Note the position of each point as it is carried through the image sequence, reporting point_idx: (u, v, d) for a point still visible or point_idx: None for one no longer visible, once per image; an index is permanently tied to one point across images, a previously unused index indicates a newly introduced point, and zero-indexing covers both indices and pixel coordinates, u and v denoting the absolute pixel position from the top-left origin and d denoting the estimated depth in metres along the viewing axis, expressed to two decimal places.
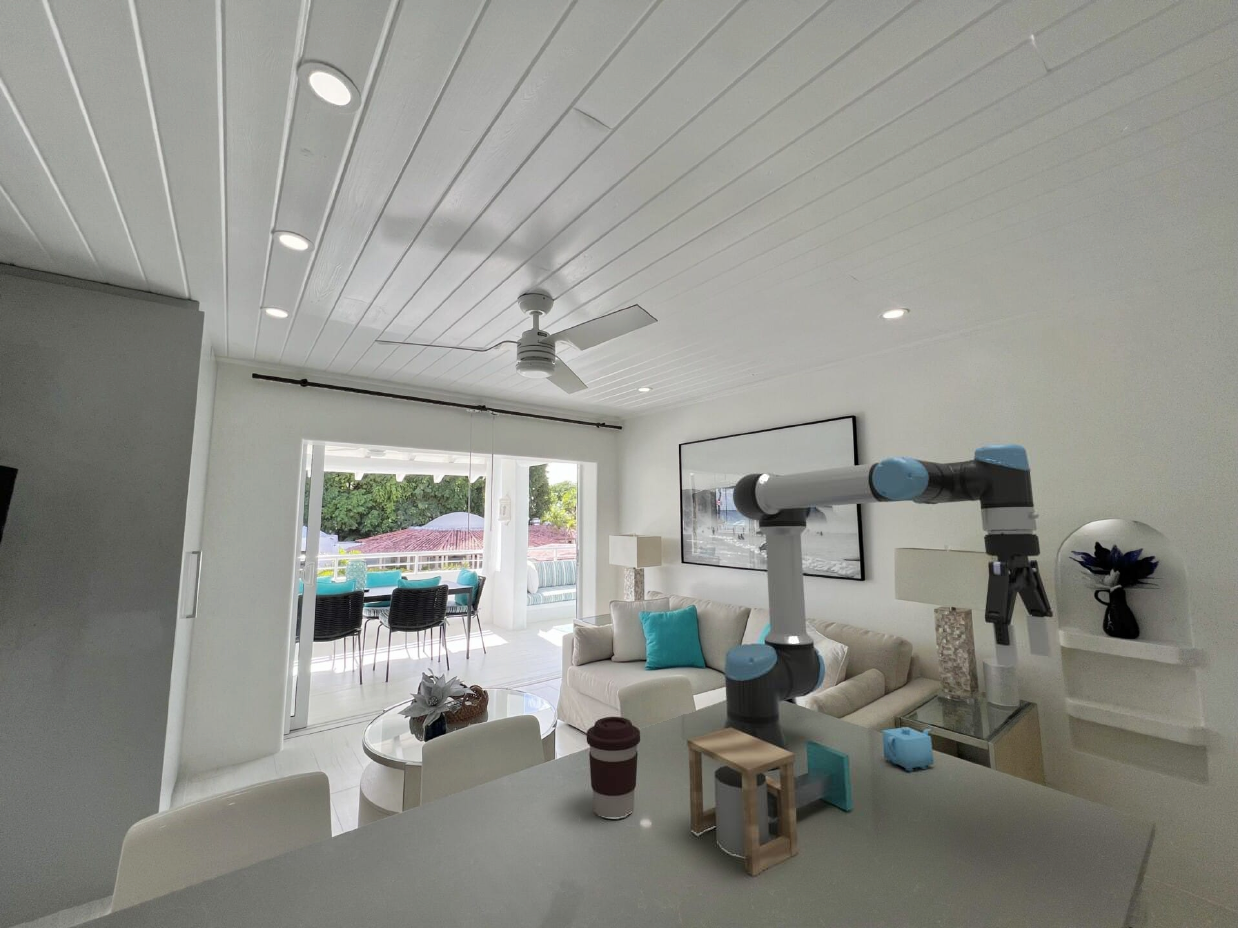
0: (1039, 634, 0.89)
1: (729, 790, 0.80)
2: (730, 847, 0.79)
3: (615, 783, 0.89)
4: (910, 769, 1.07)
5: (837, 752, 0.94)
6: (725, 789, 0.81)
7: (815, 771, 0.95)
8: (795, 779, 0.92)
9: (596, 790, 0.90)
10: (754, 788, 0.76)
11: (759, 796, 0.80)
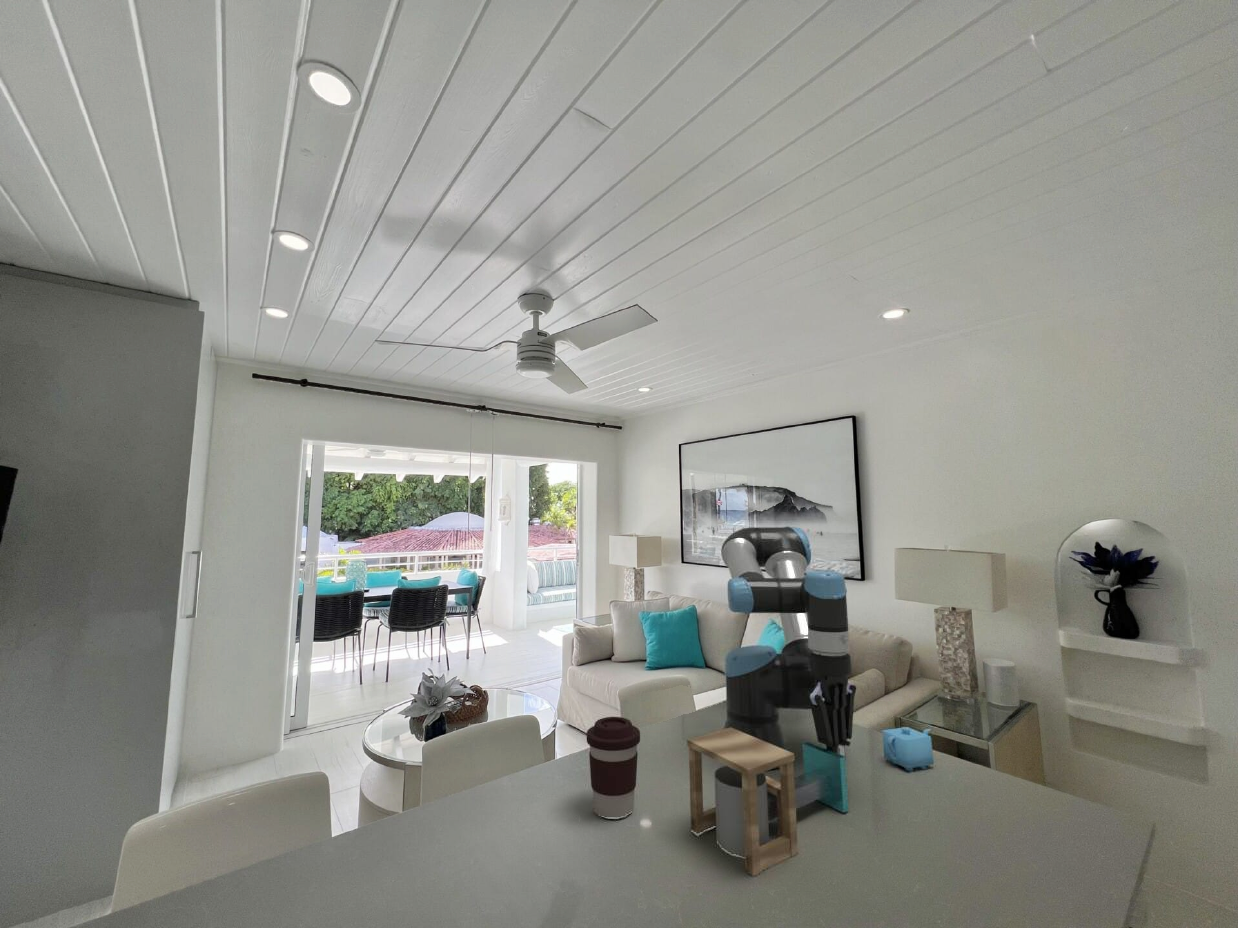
0: None
1: (729, 790, 0.80)
2: (730, 847, 0.79)
3: (615, 783, 0.89)
4: (910, 769, 1.07)
5: (833, 753, 0.93)
6: (726, 789, 0.81)
7: (811, 772, 0.94)
8: None
9: (596, 790, 0.90)
10: (754, 788, 0.76)
11: (759, 796, 0.80)
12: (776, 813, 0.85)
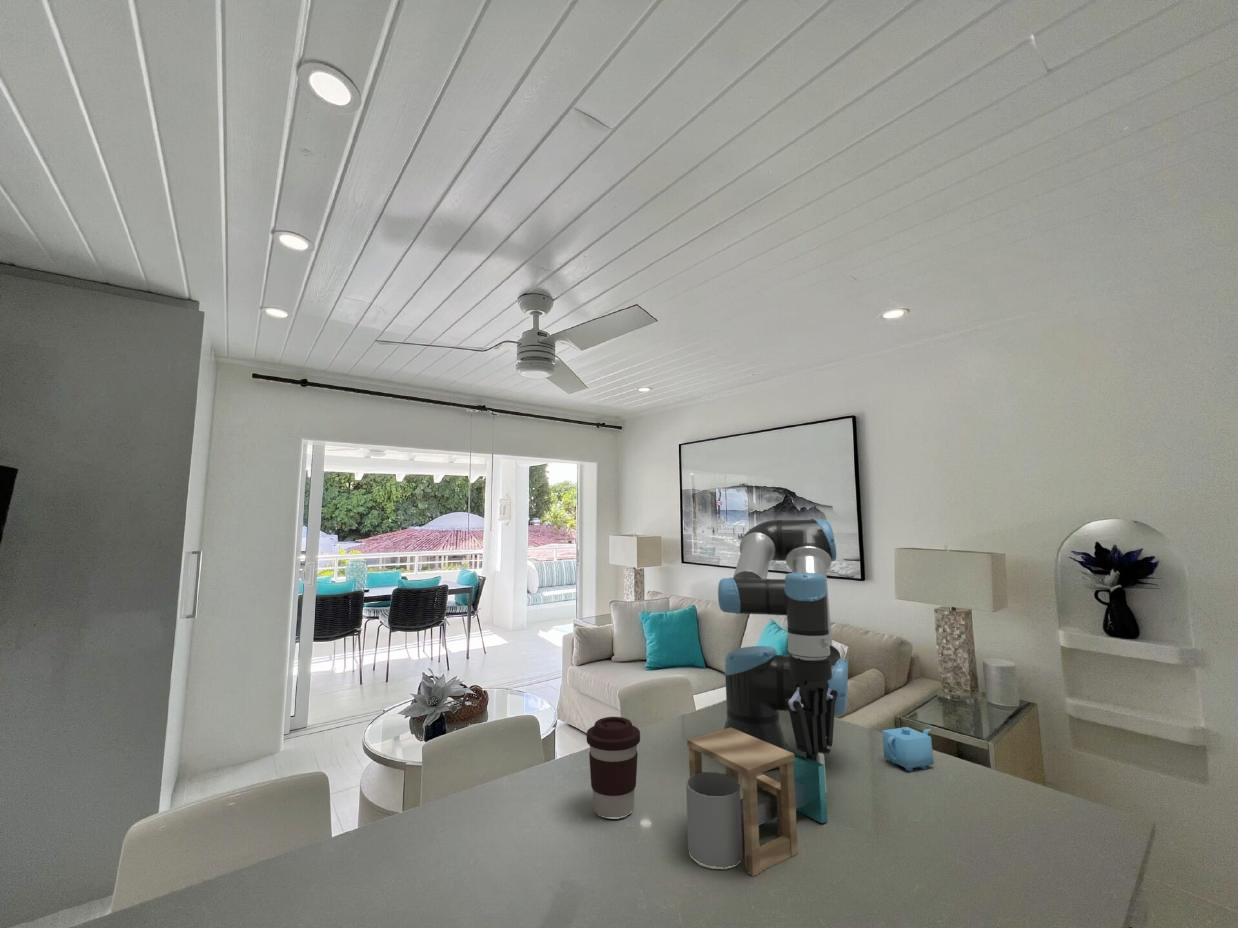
0: None
1: (698, 798, 0.78)
2: (699, 857, 0.77)
3: (615, 783, 0.89)
4: (910, 769, 1.07)
5: (812, 761, 0.90)
6: (695, 797, 0.78)
7: None
8: None
9: (596, 790, 0.90)
10: (754, 788, 0.76)
11: (729, 805, 0.77)
12: None
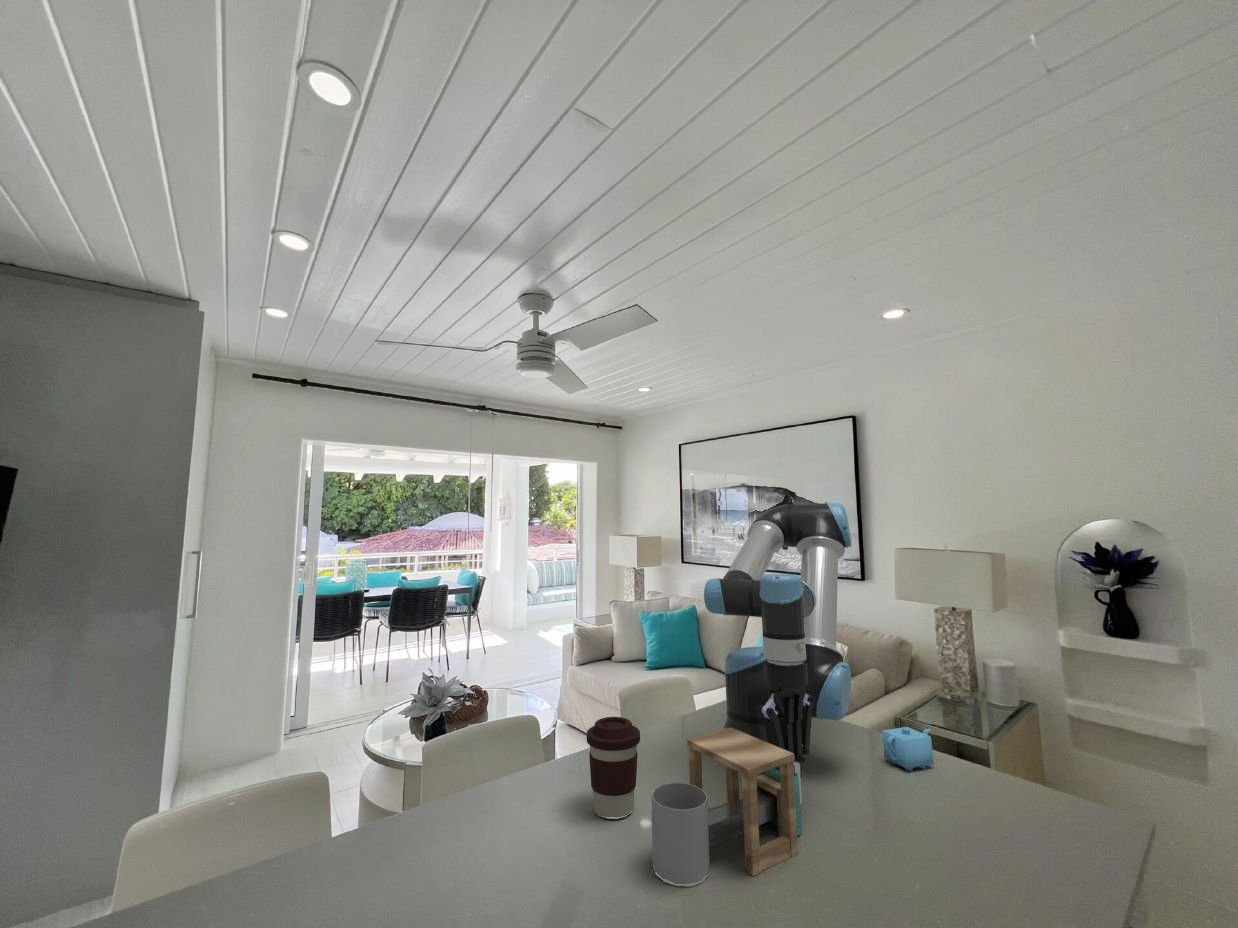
0: None
1: (662, 811, 0.74)
2: (662, 872, 0.73)
3: (615, 783, 0.89)
4: (910, 769, 1.07)
5: None
6: (659, 810, 0.75)
7: (763, 792, 0.87)
8: (740, 801, 0.84)
9: (596, 790, 0.90)
10: (754, 788, 0.76)
11: (694, 819, 0.73)
12: (719, 838, 0.78)
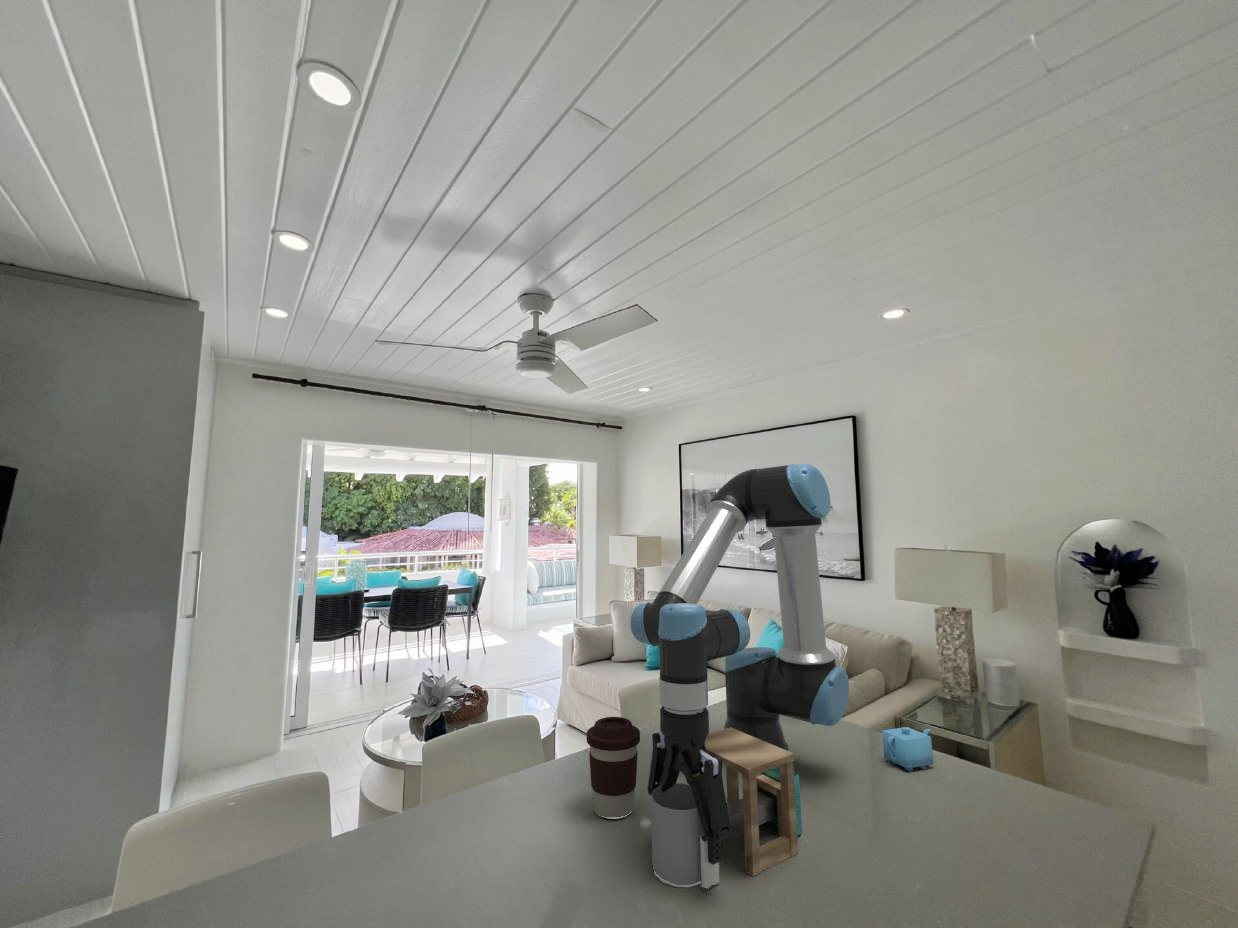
0: None
1: (661, 812, 0.74)
2: (662, 873, 0.73)
3: (615, 783, 0.89)
4: (910, 769, 1.07)
5: None
6: (659, 810, 0.74)
7: (764, 792, 0.87)
8: (740, 801, 0.84)
9: (596, 790, 0.90)
10: (754, 788, 0.76)
11: (694, 820, 0.73)
12: None
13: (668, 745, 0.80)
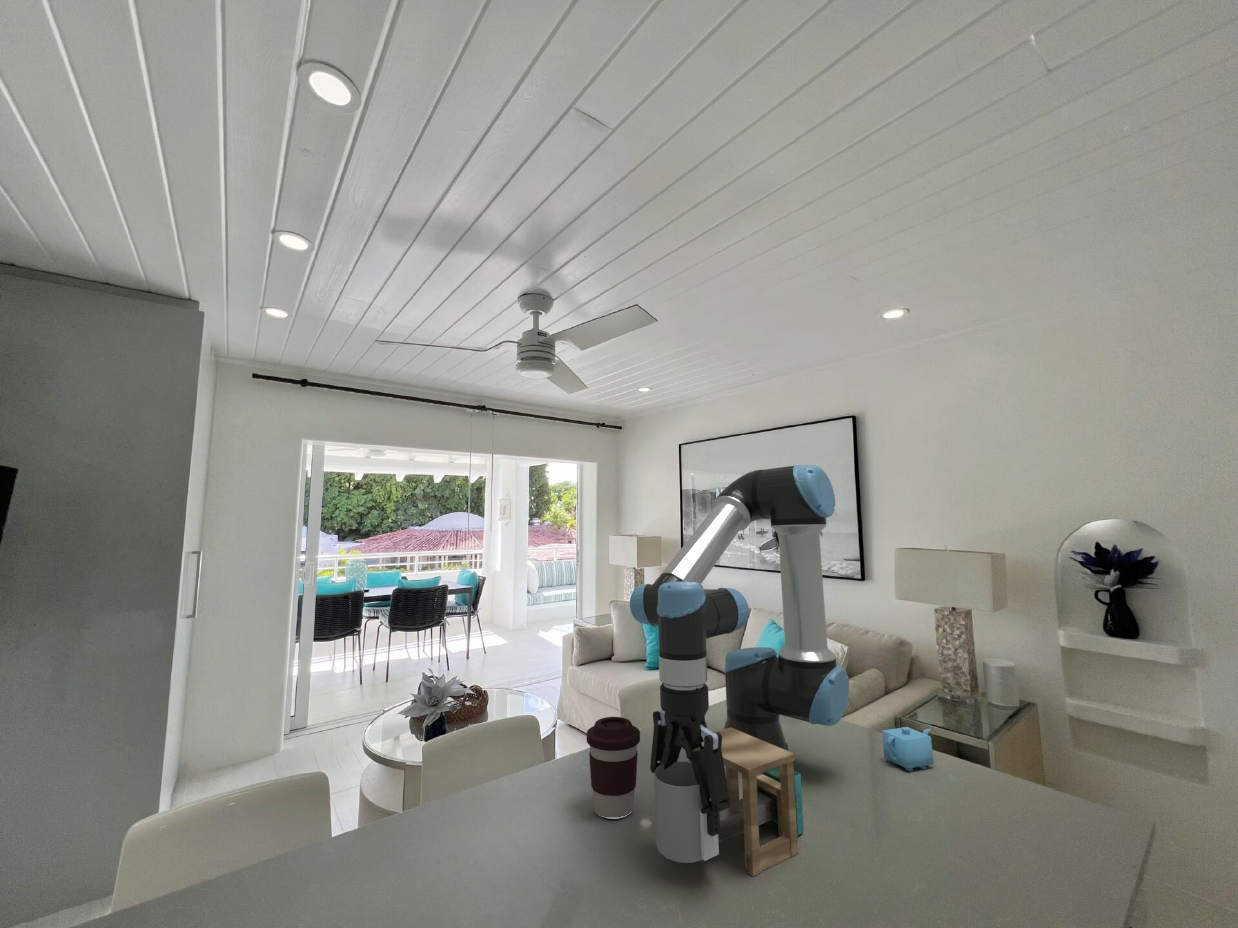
0: None
1: (665, 789, 0.74)
2: (666, 849, 0.73)
3: (615, 783, 0.89)
4: (910, 769, 1.07)
5: None
6: (662, 787, 0.75)
7: (765, 791, 0.87)
8: (742, 800, 0.84)
9: (596, 790, 0.90)
10: (754, 788, 0.76)
11: (697, 795, 0.74)
12: (721, 837, 0.78)
13: (668, 721, 0.81)
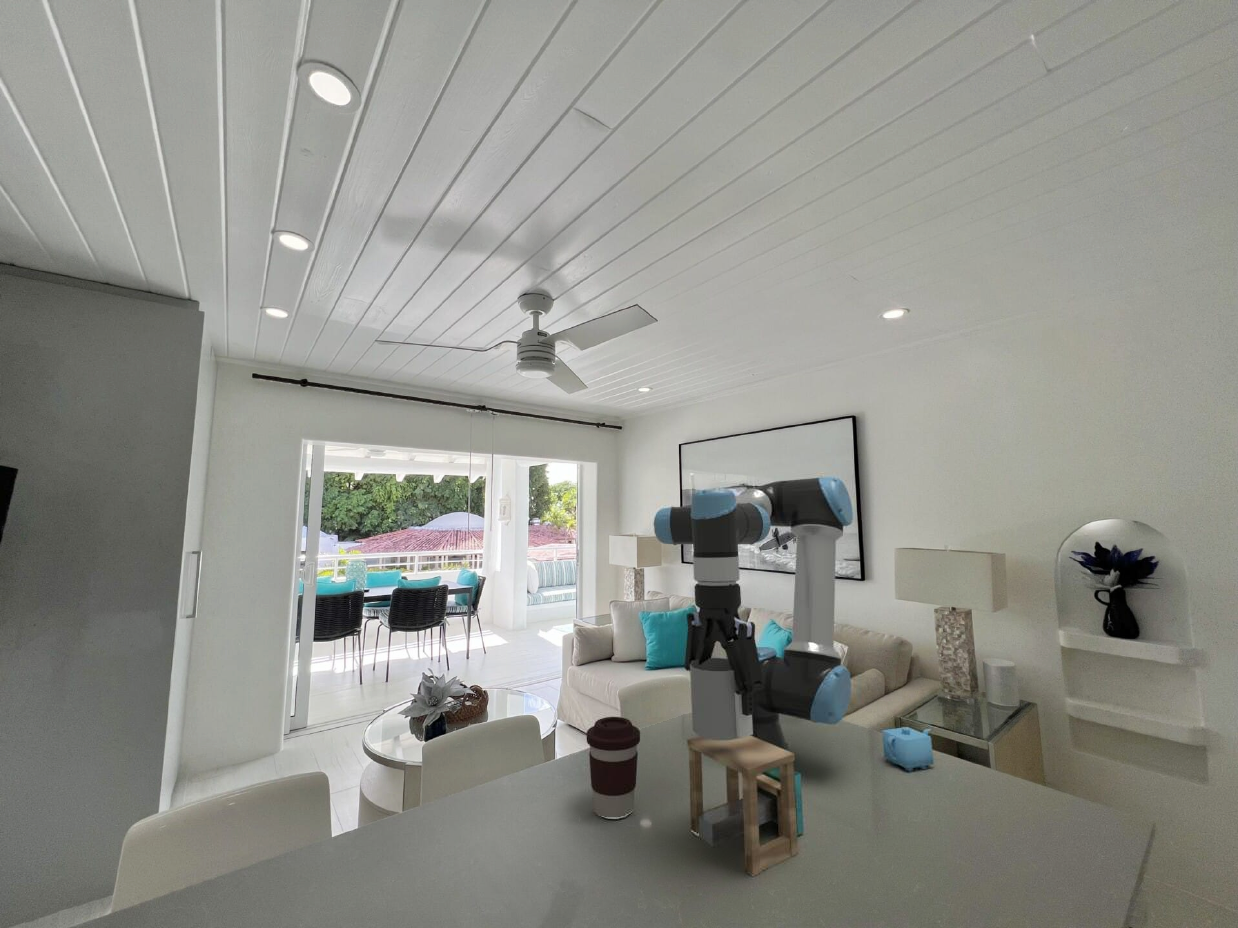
0: None
1: (701, 675, 0.79)
2: (703, 730, 0.78)
3: (615, 783, 0.89)
4: (910, 769, 1.07)
5: None
6: (698, 674, 0.80)
7: (765, 791, 0.87)
8: (742, 800, 0.84)
9: (596, 790, 0.90)
10: (754, 788, 0.76)
11: (732, 680, 0.79)
12: (721, 837, 0.78)
13: (702, 619, 0.85)
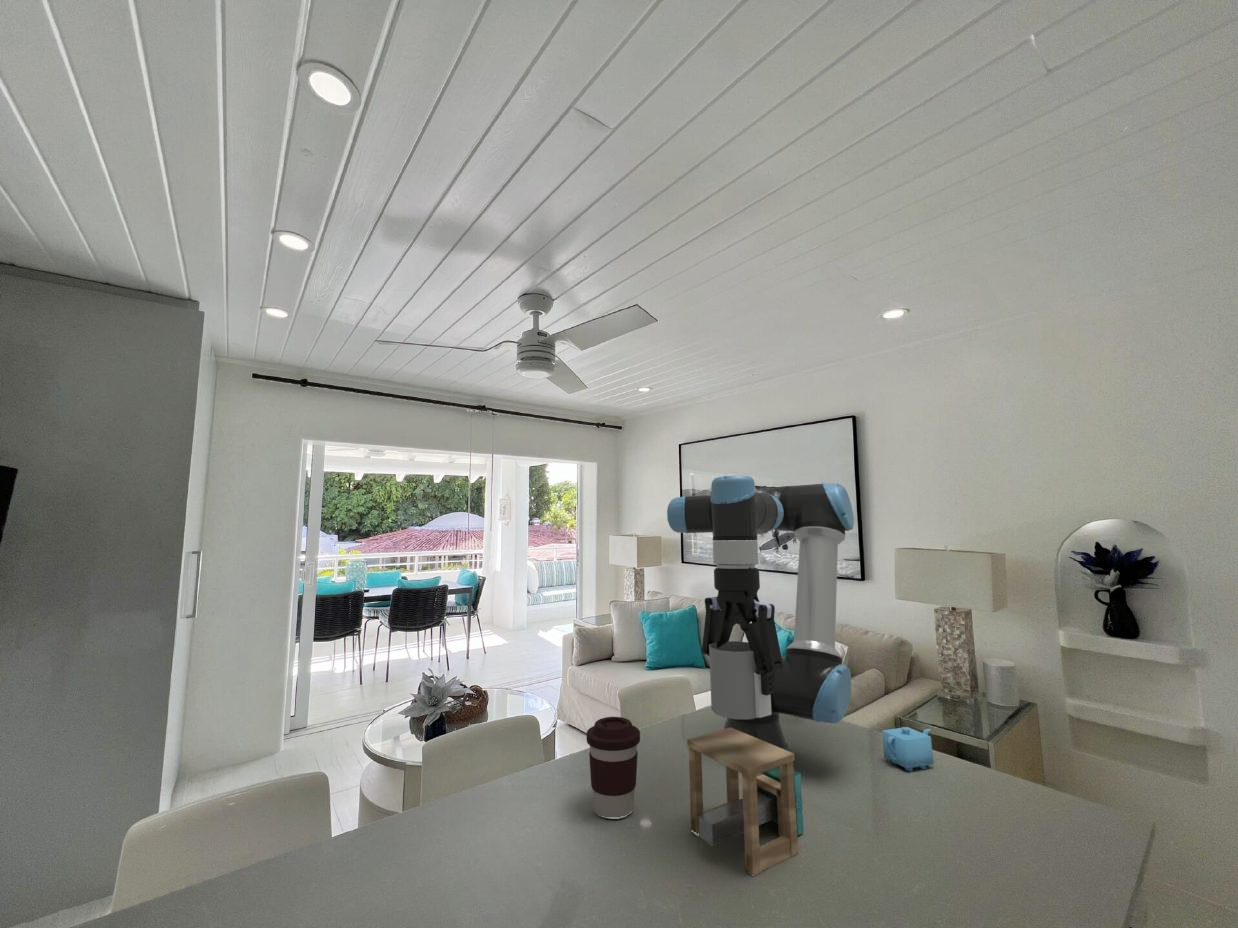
0: None
1: (721, 655, 0.81)
2: (723, 709, 0.80)
3: (615, 783, 0.89)
4: (910, 769, 1.07)
5: None
6: (718, 655, 0.81)
7: (765, 791, 0.87)
8: (742, 800, 0.84)
9: (596, 790, 0.90)
10: (754, 788, 0.76)
11: (752, 661, 0.80)
12: (721, 837, 0.78)
13: (721, 603, 0.87)
